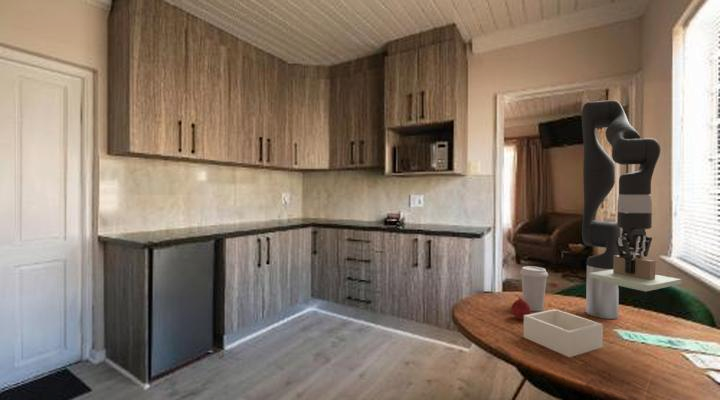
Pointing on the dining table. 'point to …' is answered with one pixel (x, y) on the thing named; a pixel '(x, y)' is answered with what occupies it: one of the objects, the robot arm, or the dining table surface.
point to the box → (563, 332)
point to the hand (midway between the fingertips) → (633, 272)
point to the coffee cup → (534, 286)
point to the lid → (635, 275)
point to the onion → (520, 308)
